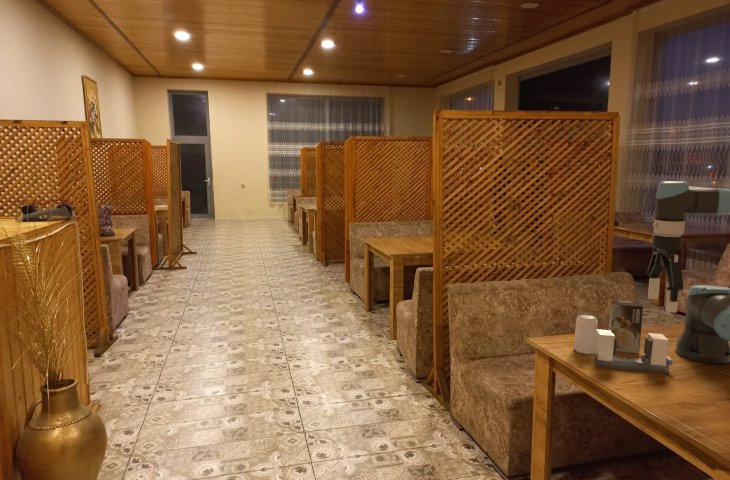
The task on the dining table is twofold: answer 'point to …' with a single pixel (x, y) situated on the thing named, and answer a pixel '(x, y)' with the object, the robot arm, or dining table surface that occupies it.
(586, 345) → the can
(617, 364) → the rail
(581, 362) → the dining table surface
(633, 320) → the coffee box
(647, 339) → the white block
